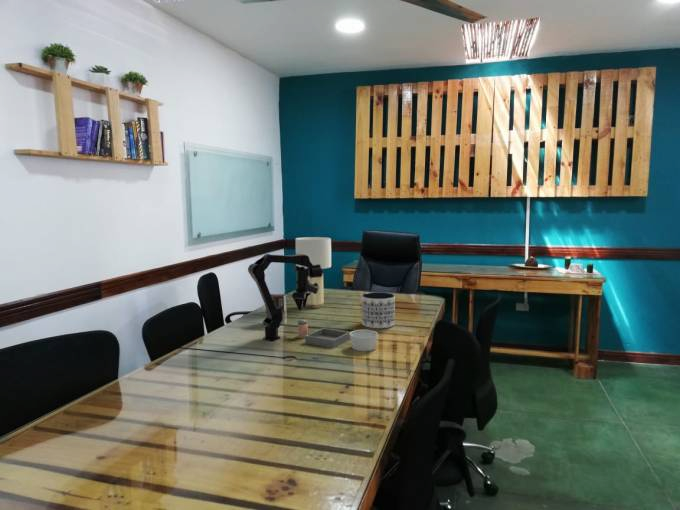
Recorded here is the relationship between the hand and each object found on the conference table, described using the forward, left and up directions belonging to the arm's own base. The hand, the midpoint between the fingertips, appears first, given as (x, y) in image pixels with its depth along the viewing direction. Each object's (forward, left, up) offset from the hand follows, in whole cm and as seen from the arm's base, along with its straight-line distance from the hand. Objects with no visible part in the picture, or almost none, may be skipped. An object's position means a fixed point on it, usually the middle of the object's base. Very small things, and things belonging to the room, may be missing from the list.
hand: (302, 308), depth 242 cm
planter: (+35, -27, -13) cm, 46 cm away
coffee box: (+11, +24, -13) cm, 30 cm away
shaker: (-5, -4, -13) cm, 15 cm away
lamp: (+56, +29, -13) cm, 65 cm away
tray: (-5, -19, -13) cm, 23 cm away
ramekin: (-6, -39, -14) cm, 41 cm away
